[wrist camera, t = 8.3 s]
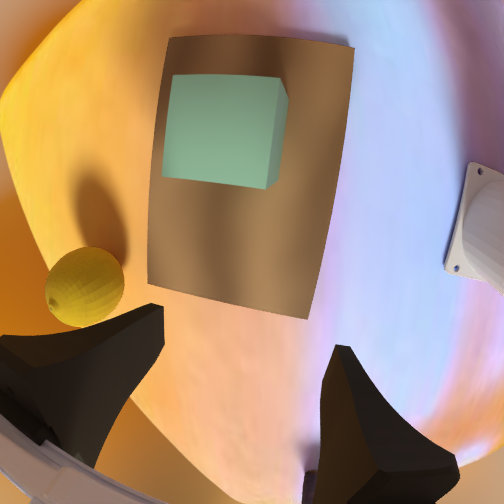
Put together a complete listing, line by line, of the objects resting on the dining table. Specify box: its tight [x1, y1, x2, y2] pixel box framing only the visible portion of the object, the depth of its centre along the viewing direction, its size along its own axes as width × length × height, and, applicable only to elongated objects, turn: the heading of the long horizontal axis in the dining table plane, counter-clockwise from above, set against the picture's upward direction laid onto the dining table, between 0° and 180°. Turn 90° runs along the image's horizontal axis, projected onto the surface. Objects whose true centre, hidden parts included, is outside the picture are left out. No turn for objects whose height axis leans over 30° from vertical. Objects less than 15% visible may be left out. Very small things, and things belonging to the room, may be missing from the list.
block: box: [162, 74, 289, 190], centre depth 14 cm, size 5×5×5 cm
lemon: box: [45, 247, 125, 327], centre depth 19 cm, size 6×6×8 cm
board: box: [147, 35, 355, 320], centre depth 18 cm, size 12×18×1 cm, turn 173°
